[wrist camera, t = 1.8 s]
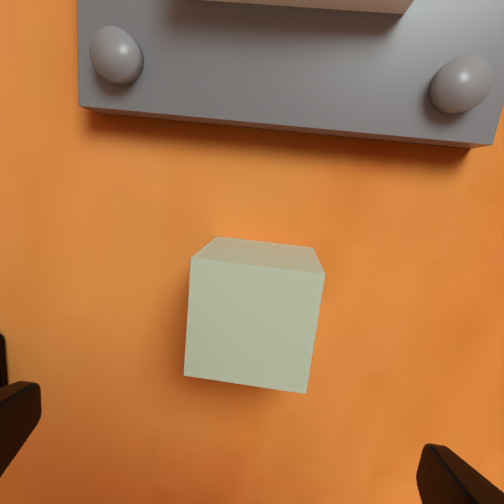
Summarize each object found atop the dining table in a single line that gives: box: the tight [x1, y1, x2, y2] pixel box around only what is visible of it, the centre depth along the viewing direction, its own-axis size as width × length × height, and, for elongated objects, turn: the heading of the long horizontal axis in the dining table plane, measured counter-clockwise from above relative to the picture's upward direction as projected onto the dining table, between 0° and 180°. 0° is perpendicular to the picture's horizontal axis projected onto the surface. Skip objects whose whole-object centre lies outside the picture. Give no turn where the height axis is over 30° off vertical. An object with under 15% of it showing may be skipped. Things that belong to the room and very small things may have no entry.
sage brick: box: [184, 236, 325, 394], centre depth 15 cm, size 5×5×5 cm
